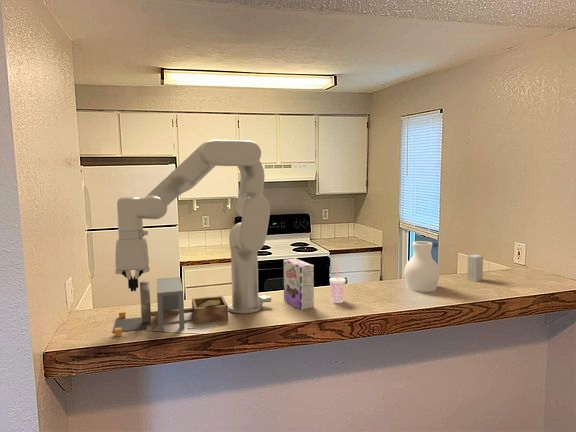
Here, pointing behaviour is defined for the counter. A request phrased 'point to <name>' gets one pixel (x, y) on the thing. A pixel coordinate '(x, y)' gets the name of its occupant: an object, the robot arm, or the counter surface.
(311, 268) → the candy box
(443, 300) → the counter surface
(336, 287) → the beverage cup
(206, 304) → the shard
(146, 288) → the wooden tray with post
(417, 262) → the vase
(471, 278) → the skincare box
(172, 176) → the robot arm
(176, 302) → the tunnel
